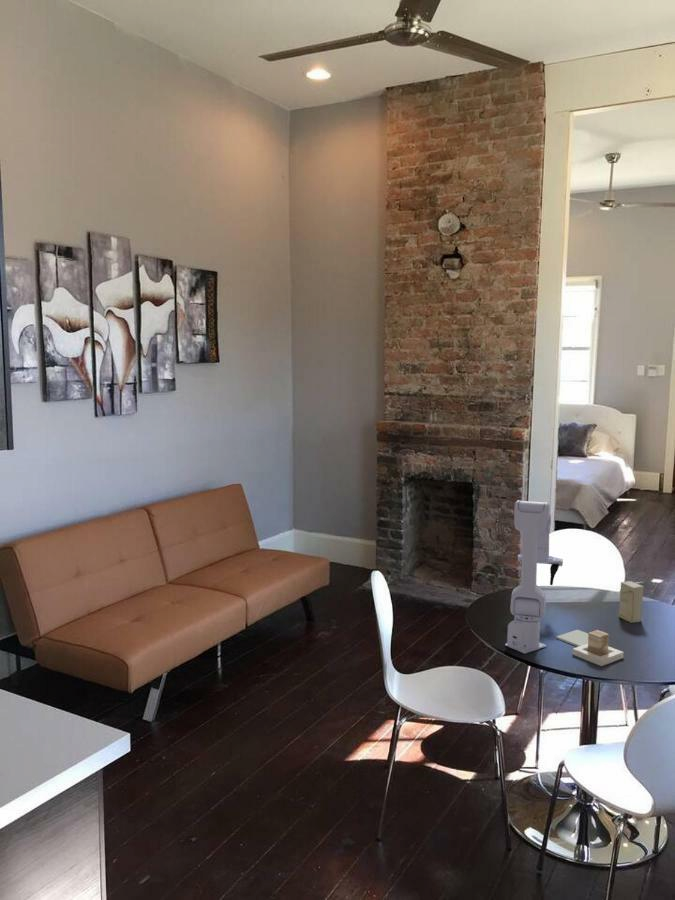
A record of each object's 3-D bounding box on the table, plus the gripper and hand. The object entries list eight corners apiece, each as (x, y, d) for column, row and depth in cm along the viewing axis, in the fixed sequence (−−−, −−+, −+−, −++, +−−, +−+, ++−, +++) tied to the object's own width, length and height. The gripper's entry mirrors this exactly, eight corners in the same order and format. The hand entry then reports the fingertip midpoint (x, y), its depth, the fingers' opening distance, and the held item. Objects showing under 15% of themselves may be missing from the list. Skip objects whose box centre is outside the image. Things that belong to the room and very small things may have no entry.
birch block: (599, 660, 213) (600, 637, 212) (587, 655, 216) (588, 632, 215) (607, 657, 215) (608, 634, 214) (596, 652, 218) (597, 629, 217)
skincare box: (618, 617, 247) (619, 581, 245) (629, 615, 248) (630, 580, 247) (631, 623, 241) (633, 587, 240) (642, 621, 243) (644, 586, 241)
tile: (582, 648, 221) (583, 646, 221) (556, 638, 229) (556, 636, 229) (604, 641, 226) (604, 639, 226) (577, 631, 235) (577, 629, 235)
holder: (601, 666, 209) (601, 660, 208) (572, 654, 217) (572, 648, 217) (623, 657, 214) (623, 652, 214) (594, 646, 222) (594, 641, 222)
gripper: (564, 543, 248) (563, 579, 251) (520, 538, 253) (520, 575, 257) (561, 551, 241) (560, 589, 245) (516, 546, 247) (516, 583, 251)
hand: (539, 582), depth 251 cm, fingers open, 7 cm apart
